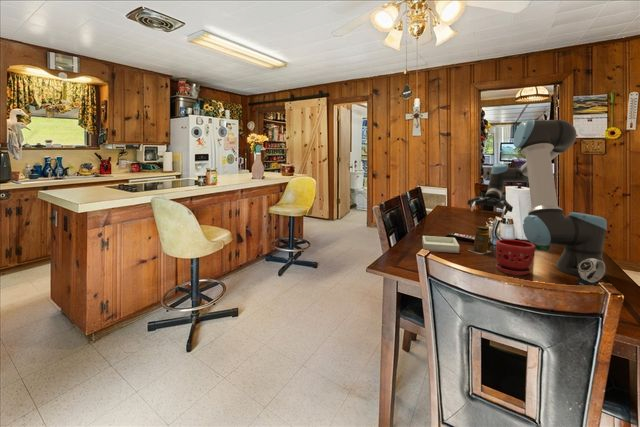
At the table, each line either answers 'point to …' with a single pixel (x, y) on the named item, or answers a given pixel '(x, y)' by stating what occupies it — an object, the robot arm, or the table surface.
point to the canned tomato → (542, 247)
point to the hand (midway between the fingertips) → (487, 211)
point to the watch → (590, 271)
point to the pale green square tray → (440, 244)
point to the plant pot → (514, 256)
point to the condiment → (481, 240)
